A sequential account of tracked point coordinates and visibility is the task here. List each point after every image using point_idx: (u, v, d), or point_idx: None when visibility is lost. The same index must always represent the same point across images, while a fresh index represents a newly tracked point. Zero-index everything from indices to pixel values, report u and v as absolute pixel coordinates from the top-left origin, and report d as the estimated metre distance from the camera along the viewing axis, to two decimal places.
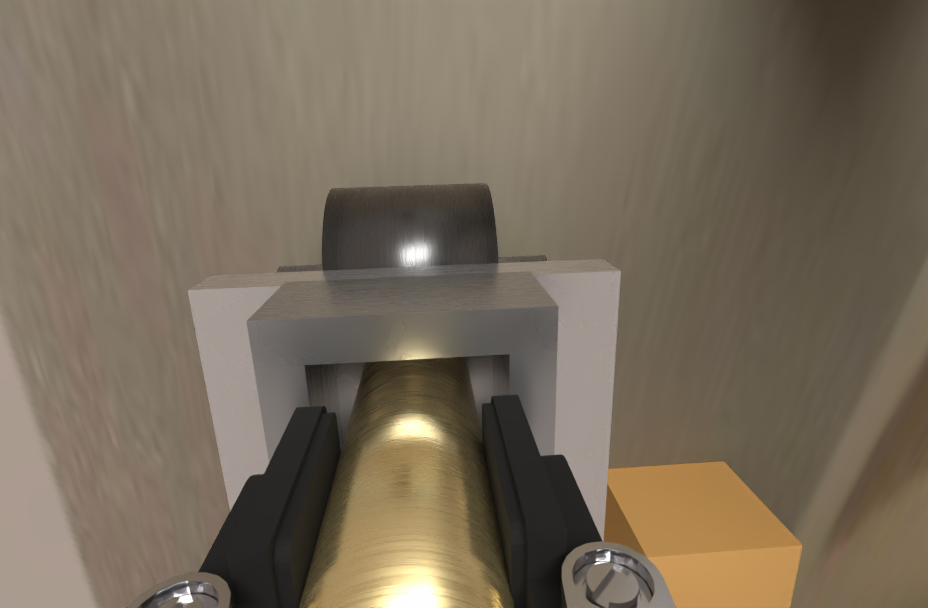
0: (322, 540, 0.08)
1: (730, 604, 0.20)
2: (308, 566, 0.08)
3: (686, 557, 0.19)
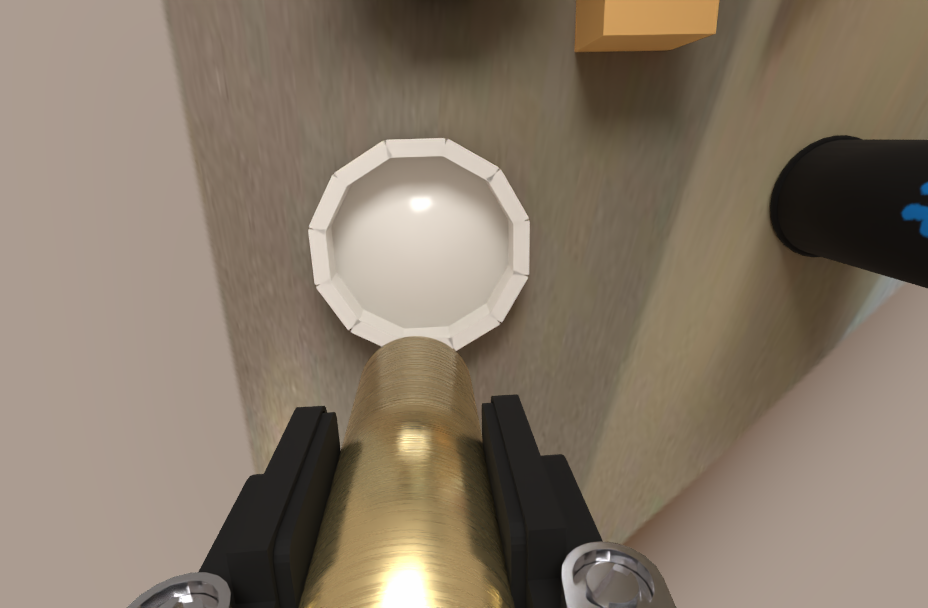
0: (321, 543, 0.07)
1: None
2: (308, 566, 0.08)
3: None
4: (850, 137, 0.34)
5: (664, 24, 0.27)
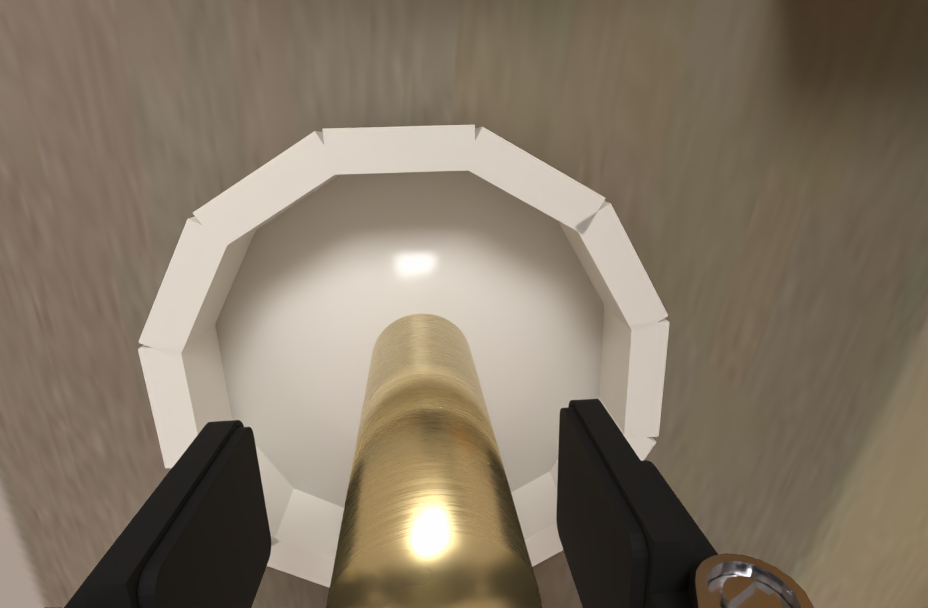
0: (358, 470, 0.09)
1: None
2: (192, 595, 0.07)
3: None
4: None
5: None
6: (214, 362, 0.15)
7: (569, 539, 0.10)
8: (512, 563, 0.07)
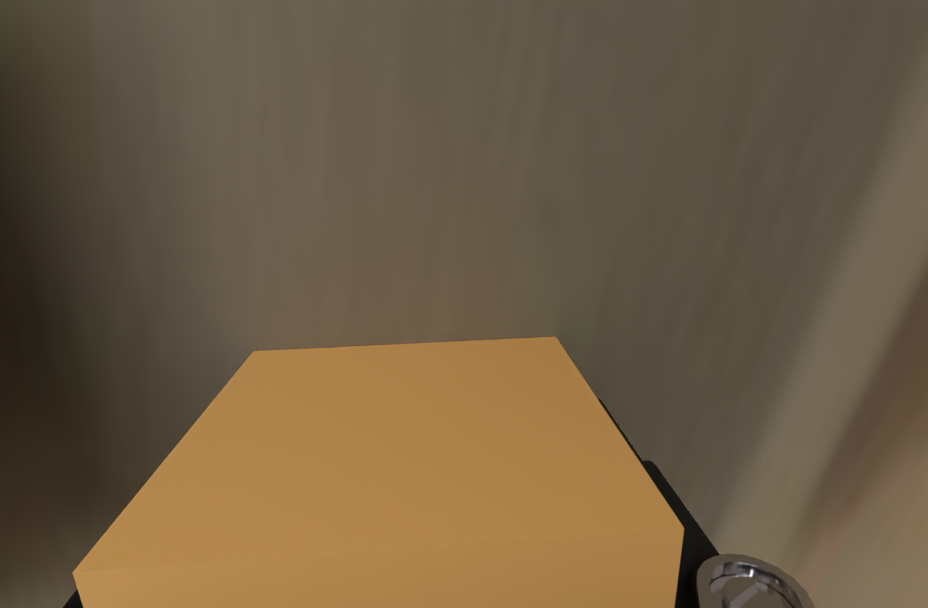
0: None
1: None
2: None
3: (234, 572, 0.05)
4: None
5: None
6: None
7: None
8: None
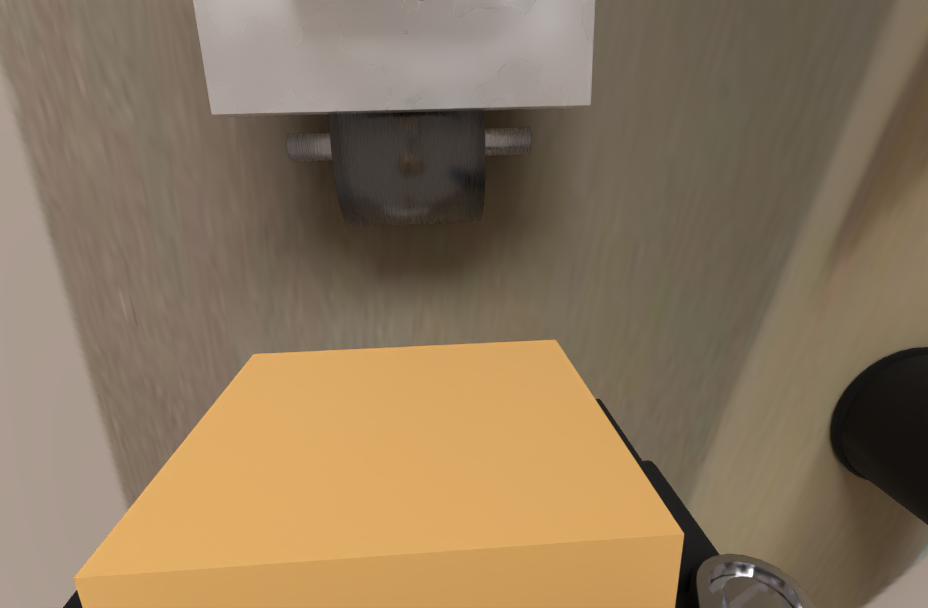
0: None
1: None
2: None
3: (236, 577, 0.05)
4: None
5: None
6: None
7: None
8: None
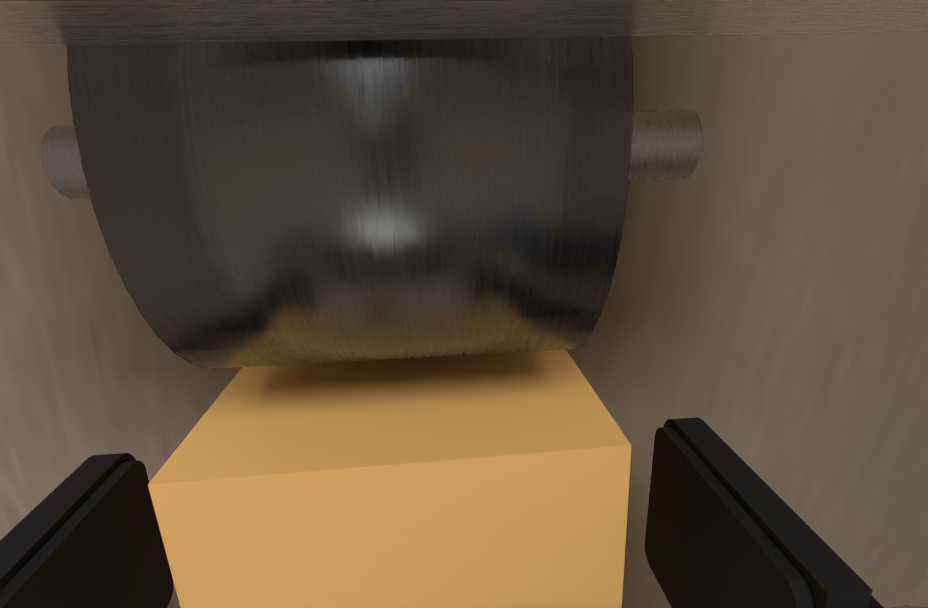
0: None
1: None
2: None
3: (274, 483, 0.06)
4: None
5: None
6: None
7: (669, 570, 0.09)
8: None
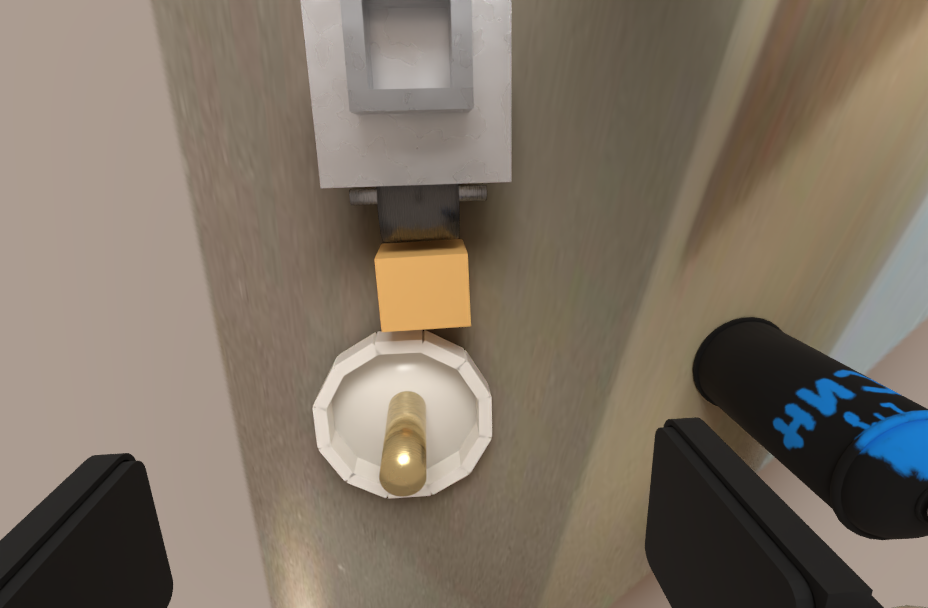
0: (385, 444, 0.35)
1: (431, 294, 0.34)
2: None
3: (398, 259, 0.33)
4: (755, 319, 0.42)
5: (429, 322, 0.35)
6: (331, 410, 0.41)
7: (669, 571, 0.09)
8: (419, 463, 0.33)
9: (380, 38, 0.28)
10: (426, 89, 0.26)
